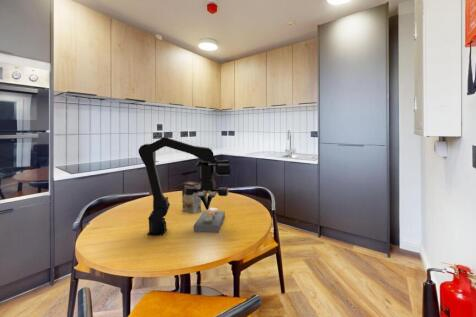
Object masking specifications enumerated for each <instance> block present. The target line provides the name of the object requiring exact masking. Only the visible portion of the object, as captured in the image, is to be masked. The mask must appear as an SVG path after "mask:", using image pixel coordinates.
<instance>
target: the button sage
mask: <svg viewBox="0 0 476 317" xmlns="http://www.w3.org/2000/svg"><path fill="white" fill-rule="evenodd" d="M203 221H205V222H209V221H212V215H203Z"/></svg>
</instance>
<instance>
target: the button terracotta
mask: <svg viewBox="0 0 476 317" xmlns="http://www.w3.org/2000/svg"><path fill="white" fill-rule="evenodd" d="M206 215H212V218H214V217H215V212H206Z"/></svg>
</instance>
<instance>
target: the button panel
mask: <svg viewBox="0 0 476 317" xmlns="http://www.w3.org/2000/svg"><path fill="white" fill-rule="evenodd" d="M206 212H209V210H203V211H202V213H201V214H200V216H199V217H198V219H197V220H196V222H195V223H194V224H193V232H194V233H208V234H211V233H212V234H219V232H220V230H221V227H222V225H223V223H224V220H225V218H226V214H225V212H226V211H222V210H221V211H220V210H217V213H215V217H214V218H212V221H209V222H205V221H203V215H206Z"/></svg>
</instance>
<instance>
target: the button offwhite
mask: <svg viewBox="0 0 476 317" xmlns="http://www.w3.org/2000/svg"><path fill="white" fill-rule="evenodd" d="M208 211H209V212H215V213H217V211H218V208H217V207H209V209H208Z"/></svg>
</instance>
